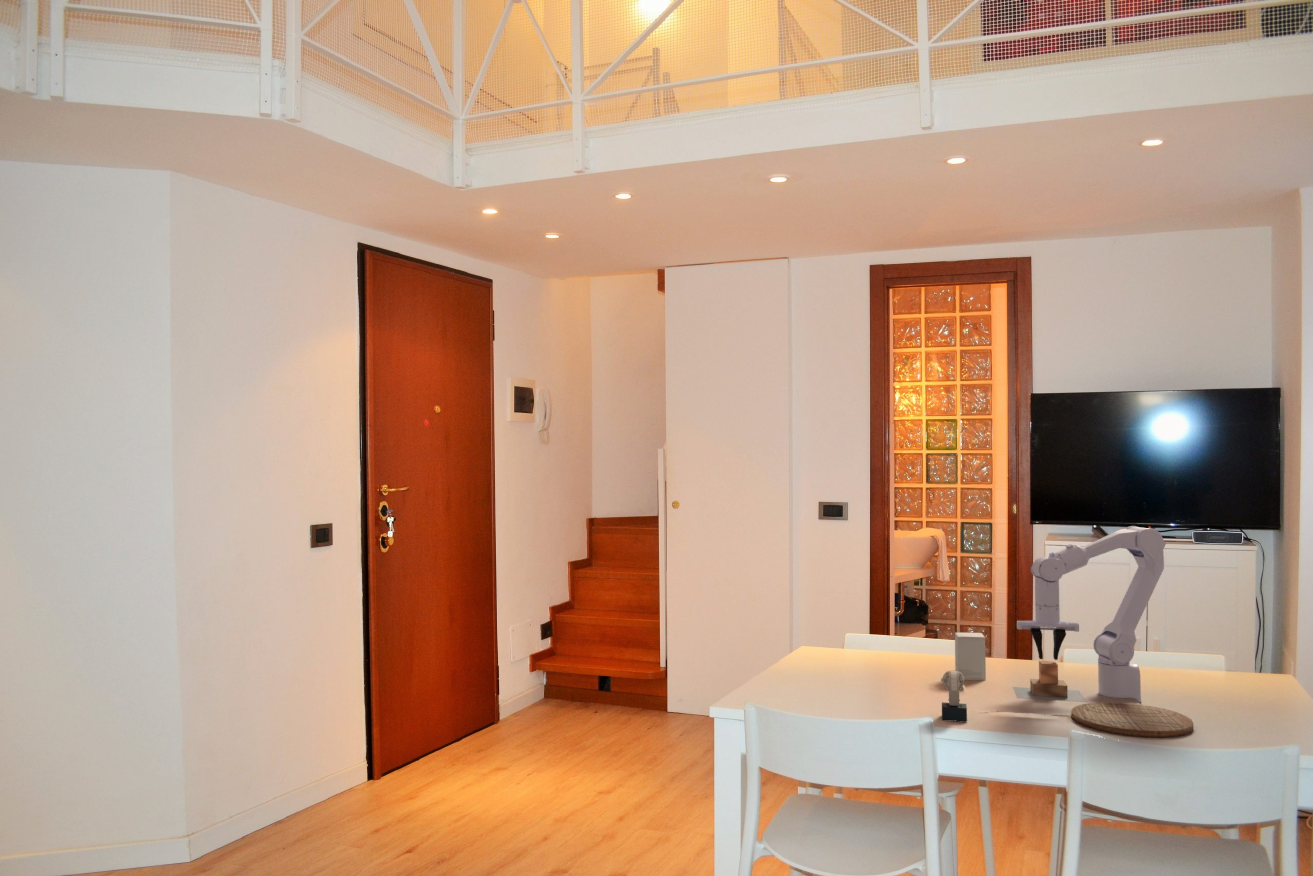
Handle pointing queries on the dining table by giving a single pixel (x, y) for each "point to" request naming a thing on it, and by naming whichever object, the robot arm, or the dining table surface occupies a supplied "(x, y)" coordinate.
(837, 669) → the dining table surface
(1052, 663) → the terracotta block
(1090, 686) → the dining table surface
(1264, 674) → the dining table surface
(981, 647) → the supplement box
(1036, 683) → the brown block
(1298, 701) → the dining table surface
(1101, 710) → the trivet
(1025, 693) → the plate
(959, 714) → the watch
